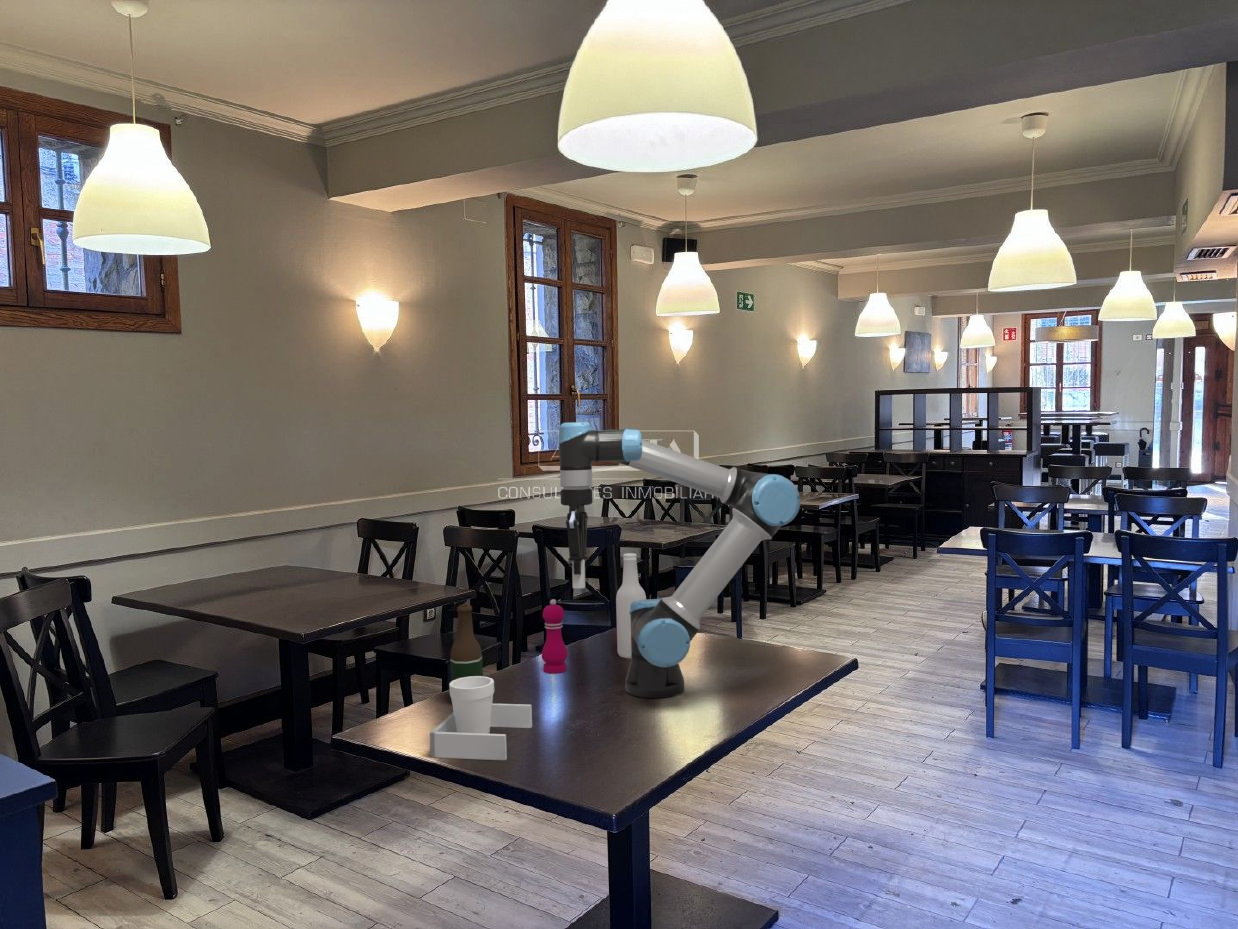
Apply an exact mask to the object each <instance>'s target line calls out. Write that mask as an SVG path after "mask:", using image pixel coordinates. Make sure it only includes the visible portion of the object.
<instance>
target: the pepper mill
mask: <svg viewBox="0 0 1238 929" xmlns="http://www.w3.org/2000/svg"><path fill="white" fill-rule="evenodd" d="M564 617H565V612H564V608H563V607H562V606H561V605H558V604H557V600H556V599H555V598H554V599H551V600H549V604H548V605H546V606H545V607H544V608H543V610H542V618H543V620H544V621H545V622H544V628H545V629H546V638H545V639H546V640H545V643H544V645H543V647H542V651H541V659H542V661H544V664H543V672H544V673H546V674H562V673H564V672H566V671H567V663H566V662H565V661H566V660H567V658H568V650H567V645H565V642H564V640H563V637H562V628H563V627H564V626H563V623H564V622H563V620H564Z"/></svg>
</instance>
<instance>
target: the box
mask: <svg viewBox="0 0 1238 929" xmlns="http://www.w3.org/2000/svg"><path fill="white" fill-rule="evenodd" d="M532 708H533V706H532V704H522V703H521V704H520V703H517V704H515V703H493V702H492V712H491V722H490V728H516V729H522V728H523V729H531V728H532V727H533V717H532V716H533V712H532V711H533V710H532ZM429 749H430V753H429V754H430V758H439V759H460V760H461V759H462V760H463V759H464V760H465V759H466V760H488V761H506V760H507V759H508V753H507V752H508V751H507V734H504V733H502V734H501V733H489V734H484V733H457V730H456V724H455V717H454V711H453V712H452V713H450V714H449V715H448V716H447V717H446V718H445V719H444V720H443V721H441V723H439V724H438V725H437V726H436V727H435V728H434V729H433V730H431V731H430V733H429Z"/></svg>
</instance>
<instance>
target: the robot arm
mask: <svg viewBox="0 0 1238 929" xmlns="http://www.w3.org/2000/svg"><path fill="white" fill-rule="evenodd" d="M558 454H559V455H558V456H559V473H558V475H557V477H558V479H559V481H560V483H559V484H560V487H561V488H562V489H560V491H559V492H560V494H559V495H560V504H561V505H562V506H564V507H565V506H568V513H567V514H566V520H565V525H566V529H567V530H566V532H567V542H568V553H569V558H567V559H568V561H570V562H571V569H572V572H571V573H572V589H585V588H586V566H585V565H586V563H585V562H586V561H585V560H588V558H589V556H588V555H587V539H588V538H587V536H588V530H587V529H588V519H589V517H588V512H587V511H586V509H585V506H590V505H592V504H593V501H594V500H593V499H594V498H593V489H592V488H591V487H592V486H593V469H592V466H593V465H592V463H599V462H601V463H602V462H604V463H606V462H611V463H612V462H613V463H614V462H615V463H618V464H621V465H623V466H628V467H630V468H632V469H636V470H639V471H642V472H644V473H648V474H650V475H653V476H656V477H658V478H661V479H664V480H666V481H667V480H668V481H670V482H674V483H676V484H679V485H682V486H685V487H688V488H691V489H693V490H697V491H699V492H703V493H705V494H708V495H711V496H714V497H716V498H719V501H720V502H721V503H722V504H725V505H728V506H730V507H733V508H732V509H731V510H732V519H731V520H730V522H728V524H727V525H726V526H725V528H724V529H723V530H722V531H721V533H720V534H719V535H718V537H717V538H716V539H715V540H714V542H713V543H712V545H710V547H709V548H708V549H707V551H706V552H705V553H704V555H703V556H702V557H701V558H700V559H699V560H698V562H697V563H696V564H695V566H694V567H693V568H692V569H691V571H690V572H688V575H687V576H686V577H685V578H684V580H683V581H682V582H681V583H680V585H679V586H678V588H676V590H675V591H674V592H673V594H672V595H670V596H666V597H661V598H652V599H651V598H650V599H646V600H637V601H633V602H632V603H631V605H630V619H631V658H630V659H631V661H630V664H629V667H628V670H627V674H626V677H625V681H624V683H625V686H624V687H625V689H624V690H625V692H626V693H628V694H629V695H631V696H634V697H639V698H647V699H649V698H650V699H659V698H668V697H674V696H677V695H680V694H681V693H683V692H684V691H685V689H686V688H685V678H684V675H683V673H682V670H681V667H680V666H681V665H680V663H681V662H682V661H683V660H684V659H685V658H686V657H687V655H688V653H689V651H690V648H691V642H692V640H693V639H694V638H695V636H696V635H697V633H698V632H700V630H701V623H700V622H701V618H702V617H703V615H704V614H705V613H706V612H707V610H708V609H709V608H710V607H711V606H712V605H713V603H714V601H716V599H717V598H718V596H719V595H720V594H721V593H722V591H723V590H724V589H725V588H726V587H727V585H728V584H729V583H730V581H731V580H732V579H733V577H734V576H735V575H736V574H737V572H738V571H739V569H740V568H741V567H742V566H743V565H744V564H745V562H746V561H747V560H748V558H749V557H750V556H751V554H752V553H753V552H754V551H755V550H756V549H757V546H759V544H760V543H761V542H762V541H764V540H771V539H772V538H773V537H774V535H775V534H776V533H777V532H778V530H779V529H780V528H781V527H782V526H786V525H787V524H789V523H790V522H792V521H793V520H794V519H795V517H796V516H797V515H798V513H799V511H800V508H801V497H800V493H799V490H798V488H797V486H796V485H795V484H794V483H793V482H792V481H791V480H790V479H788V478H786V477H784V476H783V475H780V474H778V473H777V474H774V473H772V474H770V473H765V472H755V471H748V470H745V469H740V468H738V467H735V466H732V468H731V467H730V469H729V468H726V467H723V466H720V465H717V464H714V463H711V462H709V461H706V460H702V459H700V458H696V457H695V456H694V457H693V456H691V455H688V454H686V453H682V452H679V451H677V450H674V449H671V448H668V447H665V446H663V445H659V444H656V443H653V442H650V441H648V440H645V439H643V438H642V432H641V430H639V429H629V428H626V429H624V428H623V429H606V430H605V429H604V430H595V429H592V427H591V423H590V422H588V421H585V422H584V421H583V422H580V421H578V422H563V423H562V424H561V425H559V427H558Z"/></svg>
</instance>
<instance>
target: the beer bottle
mask: <svg viewBox="0 0 1238 929" xmlns="http://www.w3.org/2000/svg"><path fill="white" fill-rule="evenodd" d="M456 611H457V634H456V639H455V640H454V643H453V644H452V646H451V650H450V655H449V656H450V658H449V660H450V665H449V666H450V682H452V681H453V680H456V679H459V678H463V677H470V676H483V675H484V673H483V670H484V669H483V652H482V648H481V645H480V643H479V642H478V640H477V638H476V637H475V634H474V625H473V615H472V611H473V606H472V605H470V604H461V605H459V606H457V608H456ZM483 677H484V676H483Z"/></svg>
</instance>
